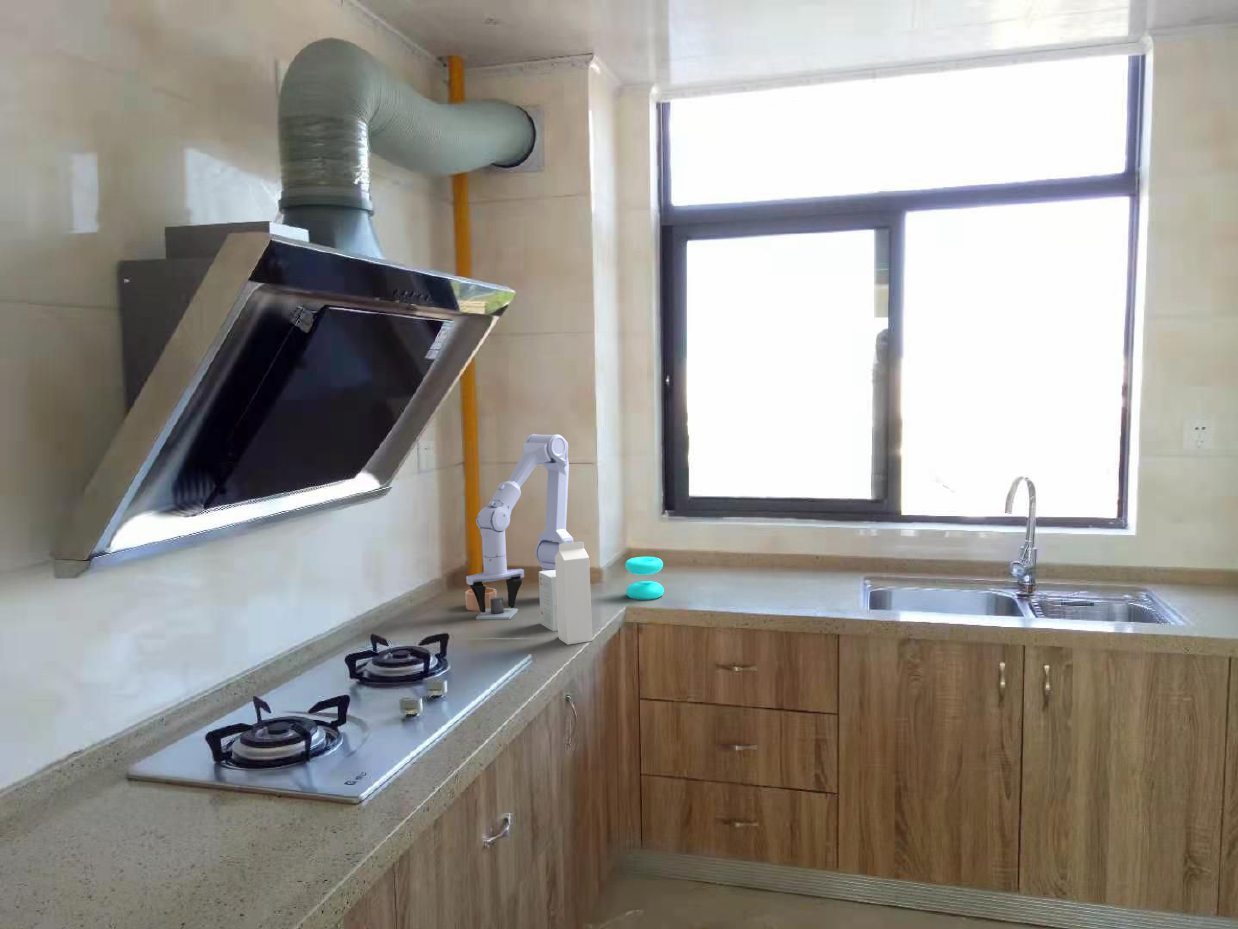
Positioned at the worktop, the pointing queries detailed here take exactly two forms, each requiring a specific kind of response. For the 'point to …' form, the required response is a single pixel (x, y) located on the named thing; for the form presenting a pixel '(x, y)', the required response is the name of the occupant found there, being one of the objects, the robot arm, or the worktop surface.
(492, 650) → the worktop surface
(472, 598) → the bowl
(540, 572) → the small box
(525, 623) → the worktop surface
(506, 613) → the lid
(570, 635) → the milk
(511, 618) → the mat
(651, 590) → the donuts
